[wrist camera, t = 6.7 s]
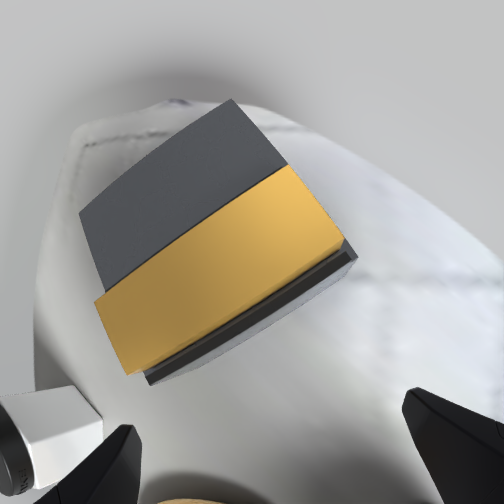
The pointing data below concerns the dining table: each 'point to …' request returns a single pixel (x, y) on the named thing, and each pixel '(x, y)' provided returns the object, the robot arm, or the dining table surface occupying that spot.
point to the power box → (196, 221)
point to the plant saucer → (189, 501)
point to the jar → (44, 437)
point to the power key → (217, 271)
